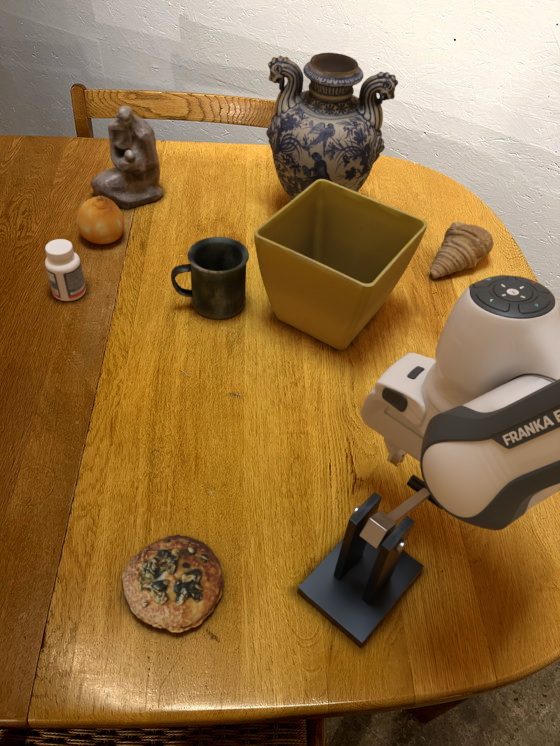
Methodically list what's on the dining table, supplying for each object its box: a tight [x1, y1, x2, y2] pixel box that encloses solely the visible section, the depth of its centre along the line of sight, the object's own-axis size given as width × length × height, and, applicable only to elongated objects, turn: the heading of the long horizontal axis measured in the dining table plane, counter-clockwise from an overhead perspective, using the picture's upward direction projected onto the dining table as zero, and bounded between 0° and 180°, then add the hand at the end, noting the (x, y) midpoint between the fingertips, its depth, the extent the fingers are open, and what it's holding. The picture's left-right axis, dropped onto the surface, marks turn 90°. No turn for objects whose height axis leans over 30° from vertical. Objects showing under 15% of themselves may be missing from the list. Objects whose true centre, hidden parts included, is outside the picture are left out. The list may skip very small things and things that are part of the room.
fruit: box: [76, 196, 125, 245], centre depth 113 cm, size 8×8×8 cm
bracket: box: [296, 491, 425, 648], centre depth 70 cm, size 12×9×14 cm
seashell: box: [429, 221, 495, 280], centre depth 113 cm, size 14×8×8 cm
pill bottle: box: [44, 238, 87, 302], centre depth 102 cm, size 5×5×9 cm
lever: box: [360, 474, 443, 549], centre depth 71 cm, size 16×5×2 cm
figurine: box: [90, 105, 164, 210], centre depth 118 cm, size 13×12×18 cm
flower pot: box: [253, 179, 429, 351], centre depth 99 cm, size 19×19×17 cm
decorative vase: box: [265, 52, 399, 202], centre depth 114 cm, size 21×19×28 cm
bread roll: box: [121, 534, 225, 634], centre depth 71 cm, size 11×11×5 cm
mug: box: [170, 236, 250, 320], centre depth 101 cm, size 9×12×10 cm
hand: (428, 483), depth 76 cm, fingers open, 8 cm apart
